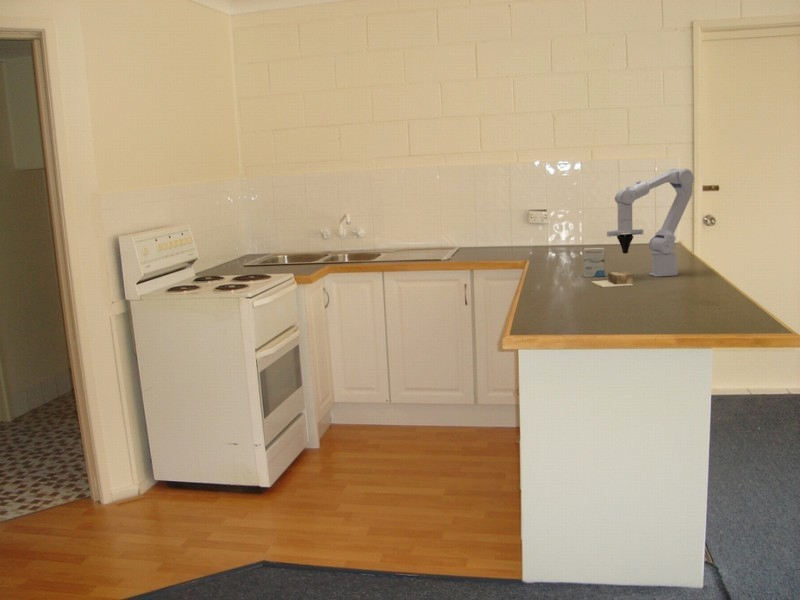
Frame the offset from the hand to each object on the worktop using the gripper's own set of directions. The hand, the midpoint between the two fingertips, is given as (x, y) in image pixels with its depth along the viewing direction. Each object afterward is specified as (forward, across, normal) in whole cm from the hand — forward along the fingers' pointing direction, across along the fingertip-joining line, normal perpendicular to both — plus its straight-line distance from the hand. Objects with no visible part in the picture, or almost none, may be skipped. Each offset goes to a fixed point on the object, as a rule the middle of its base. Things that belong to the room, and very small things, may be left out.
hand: (625, 253), depth 312 cm
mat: (+10, +10, +11) cm, 18 cm away
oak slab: (+8, +3, +11) cm, 14 cm away
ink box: (+11, +9, -12) cm, 18 cm away
